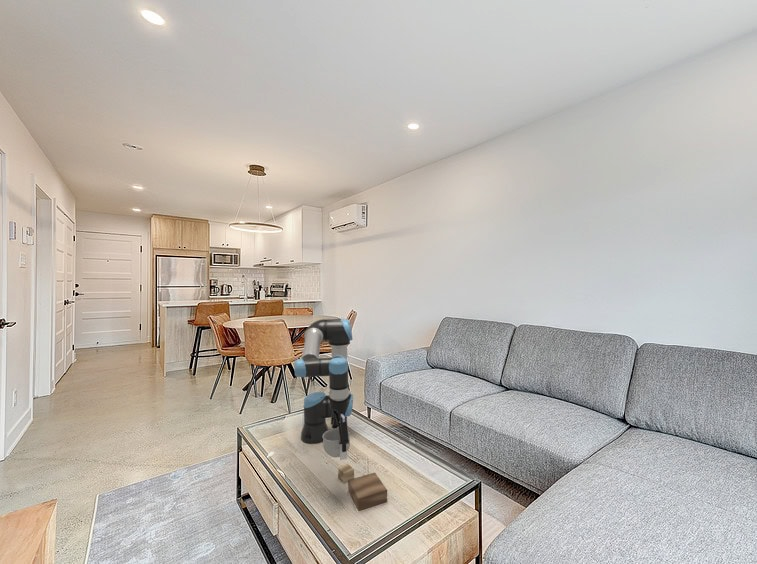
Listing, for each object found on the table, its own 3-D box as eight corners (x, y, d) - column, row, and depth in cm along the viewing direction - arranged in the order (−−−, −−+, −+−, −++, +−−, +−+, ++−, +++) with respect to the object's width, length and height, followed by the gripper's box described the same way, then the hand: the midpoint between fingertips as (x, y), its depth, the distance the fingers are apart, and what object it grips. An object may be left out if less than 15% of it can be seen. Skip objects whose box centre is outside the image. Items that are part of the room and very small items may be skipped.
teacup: (337, 464, 125) (337, 443, 124) (317, 455, 131) (316, 435, 130) (360, 447, 136) (359, 428, 136) (340, 439, 142) (340, 421, 142)
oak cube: (338, 479, 144) (338, 468, 144) (347, 474, 148) (347, 463, 147) (344, 484, 141) (344, 473, 140) (354, 480, 144) (353, 468, 143)
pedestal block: (348, 491, 135) (348, 479, 135) (375, 483, 140) (375, 472, 140) (358, 511, 124) (358, 498, 124) (387, 502, 129) (387, 489, 129)
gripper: (323, 389, 142) (323, 439, 142) (337, 410, 120) (338, 469, 120) (340, 386, 144) (340, 435, 145) (357, 407, 123) (357, 464, 123)
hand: (339, 451), depth 133 cm, fingers closed on teacup, 11 cm apart
